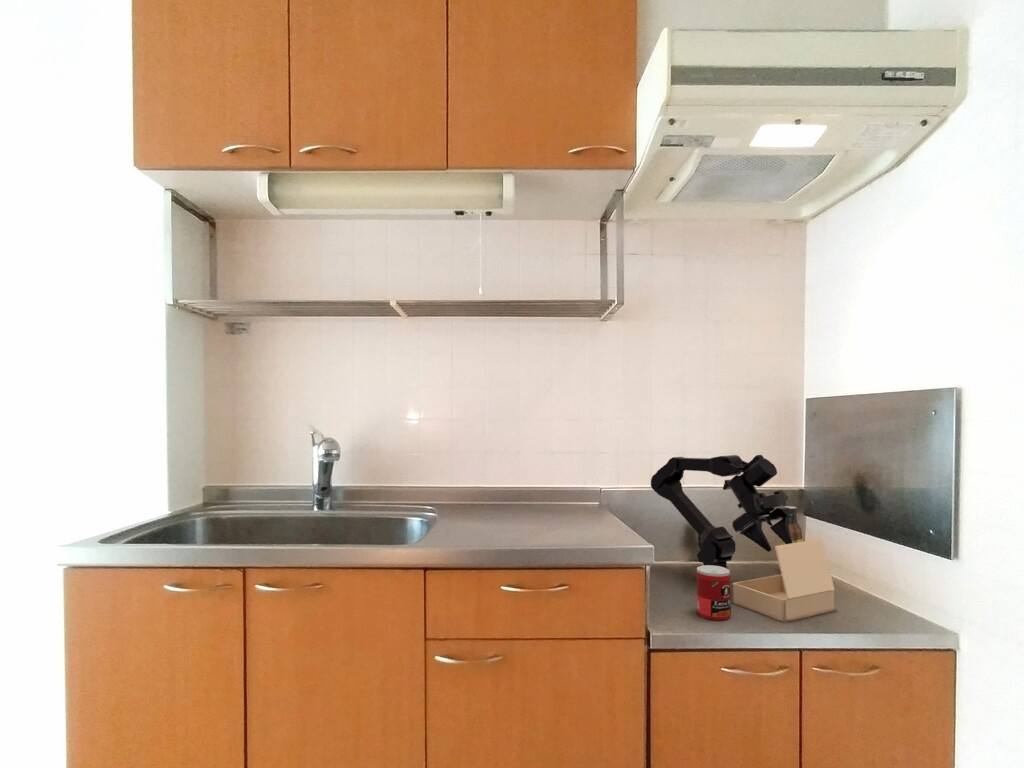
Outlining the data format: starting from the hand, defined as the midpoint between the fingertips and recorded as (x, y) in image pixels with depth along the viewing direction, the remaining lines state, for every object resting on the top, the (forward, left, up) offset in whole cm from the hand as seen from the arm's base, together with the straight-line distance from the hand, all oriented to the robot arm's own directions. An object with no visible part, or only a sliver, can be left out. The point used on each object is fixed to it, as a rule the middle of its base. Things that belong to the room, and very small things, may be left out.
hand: (780, 548), depth 155 cm
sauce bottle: (+6, +31, -14) cm, 34 cm away
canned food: (-16, -15, -14) cm, 26 cm away
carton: (0, -3, -14) cm, 14 cm away
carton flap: (+4, -8, -3) cm, 10 cm away
